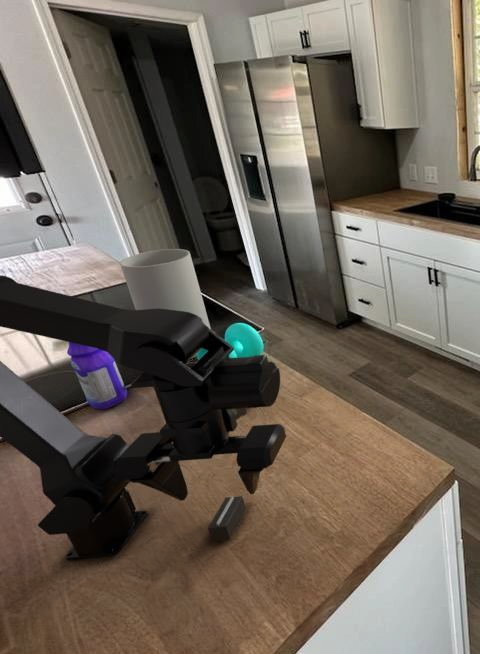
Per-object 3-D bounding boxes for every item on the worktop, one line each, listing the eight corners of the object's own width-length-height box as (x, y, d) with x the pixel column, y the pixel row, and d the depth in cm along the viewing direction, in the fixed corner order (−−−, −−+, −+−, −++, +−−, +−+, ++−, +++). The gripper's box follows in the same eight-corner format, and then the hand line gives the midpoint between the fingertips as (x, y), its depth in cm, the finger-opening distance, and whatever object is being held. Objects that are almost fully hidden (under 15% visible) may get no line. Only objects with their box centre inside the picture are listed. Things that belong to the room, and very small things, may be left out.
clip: (230, 539, 59) (225, 524, 58) (211, 541, 59) (206, 526, 58) (246, 508, 64) (241, 493, 63) (229, 509, 63) (224, 495, 62)
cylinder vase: (213, 355, 102) (187, 261, 93) (148, 370, 96) (113, 270, 87) (215, 333, 112) (191, 246, 103) (156, 345, 105) (126, 253, 96)
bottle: (83, 403, 85) (51, 329, 78) (118, 388, 90) (90, 317, 83) (99, 415, 82) (67, 339, 75) (134, 398, 86) (107, 326, 80)
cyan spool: (269, 360, 101) (261, 324, 97) (233, 384, 92) (223, 345, 88) (237, 353, 103) (228, 317, 100) (199, 375, 94) (188, 337, 91)
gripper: (290, 367, 62) (306, 447, 68) (154, 374, 60) (182, 456, 65) (258, 418, 52) (280, 507, 58) (92, 429, 49) (132, 521, 55)
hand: (219, 494), depth 59 cm, fingers open, 9 cm apart
